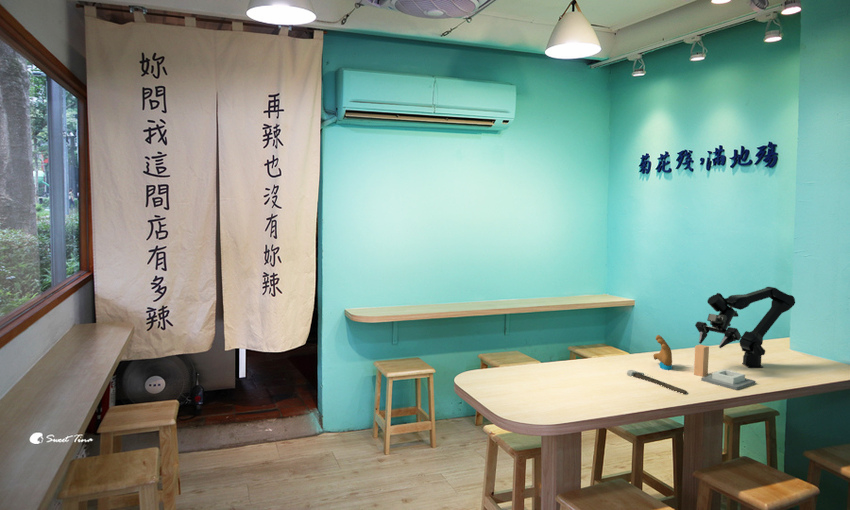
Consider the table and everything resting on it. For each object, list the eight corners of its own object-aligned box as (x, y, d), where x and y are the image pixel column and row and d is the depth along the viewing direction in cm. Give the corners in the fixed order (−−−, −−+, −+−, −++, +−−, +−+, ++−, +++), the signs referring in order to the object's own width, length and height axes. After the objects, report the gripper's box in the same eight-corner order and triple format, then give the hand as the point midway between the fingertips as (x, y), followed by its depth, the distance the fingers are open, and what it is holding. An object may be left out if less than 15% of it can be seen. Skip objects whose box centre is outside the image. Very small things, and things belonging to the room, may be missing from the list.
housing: (720, 374, 253) (720, 366, 253) (755, 383, 241) (755, 375, 241) (701, 380, 245) (701, 372, 245) (736, 390, 233) (736, 381, 232)
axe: (678, 390, 226) (625, 369, 254) (677, 396, 226) (625, 374, 254) (699, 390, 231) (645, 369, 258) (698, 396, 231) (644, 375, 258)
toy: (652, 362, 272) (653, 331, 271) (668, 363, 271) (669, 332, 269) (657, 370, 260) (658, 337, 259) (673, 371, 259) (675, 338, 257)
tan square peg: (699, 373, 256) (700, 344, 255) (707, 375, 253) (709, 346, 251) (693, 374, 254) (695, 345, 252) (702, 376, 250) (703, 347, 249)
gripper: (698, 304, 264) (683, 330, 259) (738, 310, 249) (723, 338, 244) (707, 318, 269) (692, 345, 264) (747, 326, 254) (732, 354, 249)
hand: (709, 345), depth 255 cm, fingers open, 9 cm apart
